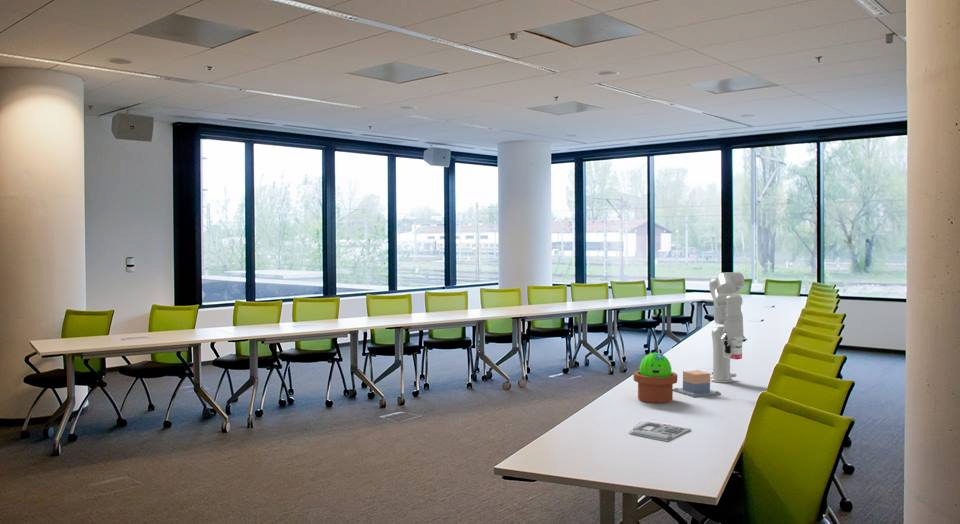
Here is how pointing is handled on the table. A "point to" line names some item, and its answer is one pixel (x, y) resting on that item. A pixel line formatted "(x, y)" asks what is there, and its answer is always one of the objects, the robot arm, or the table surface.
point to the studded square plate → (696, 384)
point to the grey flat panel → (659, 432)
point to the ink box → (734, 349)
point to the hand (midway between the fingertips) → (732, 352)
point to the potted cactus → (655, 379)
